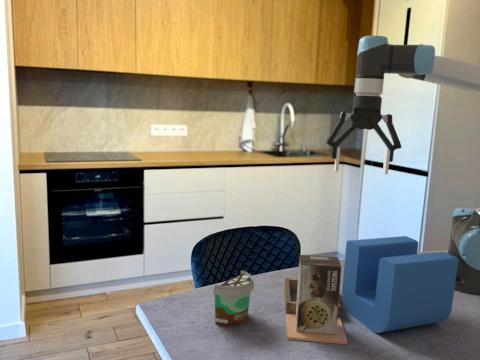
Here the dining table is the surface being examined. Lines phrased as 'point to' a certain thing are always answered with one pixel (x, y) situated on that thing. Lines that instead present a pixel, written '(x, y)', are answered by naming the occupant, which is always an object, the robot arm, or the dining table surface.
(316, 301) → the coffee box
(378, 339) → the dining table surface
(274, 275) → the dining table surface
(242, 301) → the food container
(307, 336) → the terracotta tile
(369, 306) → the block
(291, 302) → the walnut frame
